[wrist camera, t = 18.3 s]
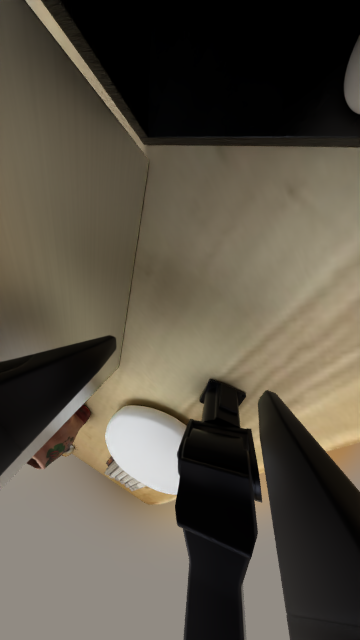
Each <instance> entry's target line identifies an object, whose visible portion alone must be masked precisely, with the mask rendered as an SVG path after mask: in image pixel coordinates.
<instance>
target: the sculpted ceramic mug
mask: <svg viewBox="0 0 360 640" xmlns="http://www.w3.org/2000/svg"><path fill="white" fill-rule="evenodd" d="M89 417H90V410H89V409H88V408H87V407H86V406H84V405H82V406H81V407H80V408H79V409H78V410H77V411H76V412H75V413H74V414H73V415H72V416H71V417H70V418H69V419H68V420H67V421H66V422H65V423H64V424H63V425H62V427H61V428H60V429H59V430H58V431H57V432H56V433H55V434H54V435H53V436H52V437H51V438H50V439H49V440H48V441H47V442H46V443H45V444H44V445H43V446H42V447H41V448H40V449H39V450H38V451H37V452H36V453H35V454H34V456H33V457H32V458H31V459H30V460H29V461H28V462H27V464H29V465H31V466H33V467H34V468H37V469H45V468H46V467H47V466H48V465H49V464H50V463H52V462H53V461H54V460H56V459H57V458H58V457H60V456H61V455H62V454H64V453H65V452H66V451H67V450H68V449H69V447H70V446H71V445H72V443H73V442H74V440H75V437H76V435H77V433H78V431H79V430H80V428H81V427H82V426H83V425H84V424H85V423H86V422H87V420H88V419H89Z"/></svg>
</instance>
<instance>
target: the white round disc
mask: <svg viewBox="0 0 360 640" xmlns="http://www.w3.org/2000/svg"><path fill="white" fill-rule="evenodd" d="M186 427H187V426H186V425H185V424H183V423H182V422H180V421H179V420H177V419H176V418H174V417H172V416H170V415H168V414H166V413H164V412H162V411H159V410H156V409H153V408H149V407H144V406H134V405H131V406H124V407H122V408H121V409H120V410H119V411H117V412H116V413H115V414H114V415H113V417H112V418H111V420H110V421H109V423H108V425H107V430H106V434H105V438H106V444H107V447H108V449H109V452H110V453H111V455H112V457H113V459H114V460H115V462H116V463H117V464H118V465H119V466H120V467H121V468H122V469H123V470H124V471H125V472H126V473H128V474H129V475H130V476H131V477H133V478H135V479H136V480H138V481H139V482H141V483H143V484H144V485H146V486H148V487H150V488H152V489H154V490H157V491H159V492H163V493H166V494H174V495H177V492H178V485H179V478H180V476H179V474H178V458H177V451H178V449H179V446H180V443H181V440H182V438H183V435H184V432H185V430H186Z"/></svg>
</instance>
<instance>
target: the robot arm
mask: <svg viewBox="0 0 360 640" xmlns="http://www.w3.org/2000/svg"><path fill="white" fill-rule="evenodd" d="M116 348H117V343H116V337H114V336H112V335H107V336H103V337H99V338H95V339H91V340H87V341H83V342H79V343H75V344H71V345H67V346H63V347H59V348H55V349H51V350H47V351H43V352H39V353H35V354H31V355H27V356H23V357H19V358H15V359H10V360H6V361H2V362H0V476H1V475H2V474H3V473H4V472H5V471H6V470H7V468H8V467H9V466H10V465H11V464H12V463H13V462H14V461H15V460H16V459H17V458H18V457H19V456H20V455H21V454H22V452H23V451H24V450H25V449H26V448H27V447H28V446H29V445H30V444H31V443H32V442H33V441H34V440H35V439H36V438H37V437H38V435H39V434H40V433H41V432H42V431H43V430H44V429H45V428H46V427H47V426H48V425H49V424H50V423H51V422H52V421H53V420H54V419H55V417H56V416H57V415H58V414H59V413H60V412H61V411H62V410H63V409H64V408H65V407H66V406H67V405H68V404H69V403H70V402H71V401H72V399H73V398H74V397H75V396H76V395H77V394H78V393H79V392H80V391H81V390H82V389H83V388H84V387H85V386H86V385H87V384H88V383H89V381H90V380H91V379H92V378H93V377H94V376H95V375H96V374H97V373H98V372H99V371H100V370H101V368H102V367H103V366H104V365H105V363H106V362H107V361H108V359H109V358H110V357H111V356H112V354H113V353H114V352H115V350H116ZM245 398H246V393H244V392H242V391H240V390H237V389H235V388H233V387H230V386H228V385H225V384H223V383H220V382H218V381H215V380H213V379H209V381H208V383H207V385H206V387H205V389H204V391H203V393H202V395H201V397H200V402H201V403H203V404H204V407H203V414H202V421H196V420H193V419H190V420H189V423H188V424H187V427H186V430H185V432H184V435H183V438H182V440H181V443H180V446H179V449H178V451H177V458H178V474H179V476H180V478H179V485H178V492H177V498H176V504H175V511H176V520H177V525H178V526H179V527H181V528H183V532H184V536H185V541H186V546H187V550H188V556H189V576H188V589H187V602H186V615H185V628H184V640H246V626H245V611H244V594H243V580H244V577H245V574H246V571H247V567H248V564H249V561H250V559H251V557H252V553H253V549H254V545H255V542H256V539H257V534H258V531H257V521H256V511H255V502H254V500H255V501H258V502H262V495H261V486H260V479H259V471H258V465H257V459H256V453H255V448H254V442H253V437H252V431H251V429H248V428H247V429H243V428H240V418H239V405H240V404H241V403H242V402H243V400H244V399H245ZM258 412H259V432H260V442H261V448H262V455H263V462H264V468H265V475H266V481H267V488H268V494H269V501H270V508H271V514H272V520H273V528H274V535H275V541H276V548H277V554H278V561H279V568H280V573H281V581H282V588H283V594H284V601H285V607H286V612H287V622H288V629H289V635H290V640H360V492H359V490H358V489H357V488H356V487H355V486H354V484H353V483H352V482H351V481H350V480H349V479H348V477H347V476H346V475H345V474H344V473H343V472H342V470H341V469H340V468H339V467H338V466H337V465H336V463H335V462H334V461H333V460H332V459H331V458H330V456H329V455H328V454H327V453H326V452H325V450H324V449H323V448H322V447H321V446H320V445H319V443H318V442H317V441H316V440H315V439H314V438H313V436H312V435H311V434H310V433H309V432H308V431H307V429H306V428H305V427H304V426H303V425H302V424H301V422H300V421H299V420H298V419H297V418H296V417H295V415H294V414H293V413H292V412H291V411H290V409H289V408H288V407H287V406H286V405H285V404H284V402H283V401H282V400H281V399H280V398H279V397H278V395H277V394H276V393H274V392H271V391H268V390H266V391H265V392H264V393H263V395H262V396H261V397H260V399H259V401H258Z"/></svg>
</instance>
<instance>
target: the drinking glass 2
mask: <svg viewBox="0 0 360 640" xmlns="http://www.w3.org/2000/svg"><path fill="white" fill-rule="evenodd" d="M344 96H345V100H346V103H347V105H348V106H349V108H350V109H351V110H352V111H353V112H355V113H357V114H359V115H360V35H359V37H358V39H357V41H356V44H355V46H354V48H353V50H352V53H351V56H350V58H349V61H348V64H347V68H346V72H345V78H344Z"/></svg>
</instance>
